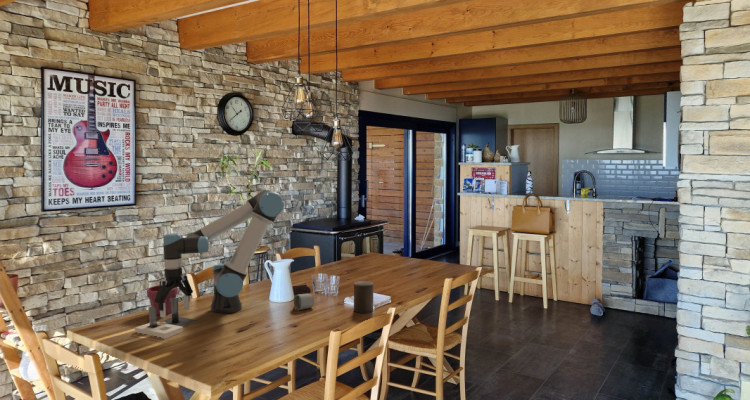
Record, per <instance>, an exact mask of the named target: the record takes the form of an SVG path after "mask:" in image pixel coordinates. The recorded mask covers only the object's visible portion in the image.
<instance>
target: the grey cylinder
mask: <svg viewBox="0 0 750 400" xmlns="http://www.w3.org/2000/svg"><path fill="white" fill-rule="evenodd" d="M293 304H294V307H295V309H296V310H297V311H302V310H305V309H306V310H307V309H311V308H312V307H313V306H314V304H315V298H314V295H312V294H311V293H302V294H301V293H299V294H296V295H295V296H294V297H293Z"/></svg>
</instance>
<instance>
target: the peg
mask: <svg viewBox="0 0 750 400" xmlns="http://www.w3.org/2000/svg"><path fill="white" fill-rule="evenodd" d="M170 314H171V318H172V323H178V322H179V317H180V316H179V315H180V314H179V298H178V297H176V298H172V299H171V313H170Z"/></svg>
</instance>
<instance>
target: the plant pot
mask: <svg viewBox="0 0 750 400" xmlns="http://www.w3.org/2000/svg"><path fill="white" fill-rule="evenodd" d="M159 286H160V284H158V285H153V286H150V287H148V288H146V297H147V298H148V299H149V303H150V307H151V306H156V311H157V316H160V310H159V304H158V303H155V302H154V301H155V298H156V295H157V292H158V289H159ZM178 290H179V288H178V287H175V288H173V289H172V290H170V292H169V294H168V295H167V297H166V299H165V301H164V303H165V309H166V315H170V314H172V313H171V299H172V298H177V296H178V294H179V291H178ZM161 301H162V300H161Z"/></svg>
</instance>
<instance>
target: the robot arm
mask: <svg viewBox="0 0 750 400" xmlns="http://www.w3.org/2000/svg"><path fill="white" fill-rule="evenodd" d="M284 208H285V202H284V199H283V197H282V195H280V194H279V193H278V192H276V191H273V190H270V189H269V190H265V189H264V190H262V191H260V192H258V193H257V194H255V195H254V196H252V197H251V198H249V199H247V200H246V201H245V203H244V204H242V205H241V206H239V207H236V208H235V209H234V210H231V211H230V212H228V213H226V214H224V215H222V216H221V217H219V218H216V219H215V220H214V221H212V222H210V223H208V224H207V225H204V226H203V227H201V228H199V229H198V230H196V231H193V232H189V233H188V234H187V236H186V237H182V236H181V234H180V233H178V232H177V233H166V234H165V235H164V236H163V237H162V238H163V240H162V243H163V244H162V246H163V263H164V264H163V265H164V277H165V280H159V285H160V286H159V289H158V292H157V295H156V298H155V301H154V302H155V303H158V304H159V310H160V315H159V317H160V318H164V319H165V318H166V317H167V316H166V315H167V314H166V309H165V303H164V301H165V299H166V297H167V295H168V294H169V292H170V290H172V289H173V288H175V287H178V290H180V291H181V292H182V293H183V300H182V302H183V303H182V304H183V310H186V311H189V310H190V296H192V294H193V293H194V292H193V291H194V290H193V288H192V286H191V284H190V282H189V281H188V276H187V274H183V267H182V266H183V261H182V260H183V259H182V255H188V254H203V253H208V252H209V250H210V248H209V246H210V244H209V243H210V241H213V240H214V239H216V238H218V237H219V236H221V235H223V234H225V233H227V232H229V231H230V230H232V229H234V228H235V227H237V226H239V225H241V224H243V223H245V222H246V221H249V219H251V220H250V222H249V224H248V226H247V227H246V229H245V231H244V233H243V235H242V237H241V239H240V241H239V243H238V245H237V247H236V249H235V250H234V252H233V254H232V256H231V258H230V260H229V261H227V262H225V263H222V264H221V263H220V264H215V265H213V266H212V275H213V276H212V277H213V279H212V280H213V282H212V283H213V297H212V300H211V305H210V312H212V313H214V314H231V313H232V314H233V313H236V312H237V313H238V312H239V311H242V309H243V304H242V302H241V299H240V295H239V294H240V293H241V291H242V290H243V286H244V281H245V279H246V278H247V275H248V271H247V268H248V266H249V265H250V263H251V261H252V260H253V257H254V255H255V253H256V251H257V249H258V247H259V246H260V243H261V242H262V239H263V237H264V235H265V234H266V232H267V230H268V228H269V226H270V225H272V224H274V223H275V221H276V220H277V217H278V216H279V215H280V214H281V213H282V212H283V210H284ZM161 300H162V301H161Z"/></svg>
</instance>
